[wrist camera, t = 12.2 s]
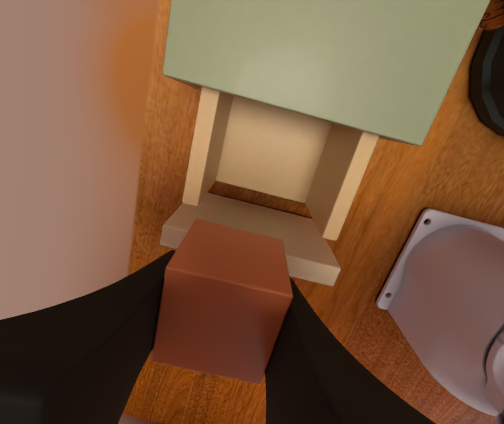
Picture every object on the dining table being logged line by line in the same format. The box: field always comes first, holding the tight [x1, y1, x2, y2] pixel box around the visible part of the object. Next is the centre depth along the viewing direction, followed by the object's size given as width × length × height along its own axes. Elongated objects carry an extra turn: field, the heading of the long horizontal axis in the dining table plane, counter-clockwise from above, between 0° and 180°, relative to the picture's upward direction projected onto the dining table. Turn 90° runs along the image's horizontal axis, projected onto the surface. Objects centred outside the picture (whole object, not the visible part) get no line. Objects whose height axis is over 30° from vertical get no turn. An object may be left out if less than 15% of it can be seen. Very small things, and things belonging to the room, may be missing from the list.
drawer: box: [160, 87, 379, 287], centre depth 16 cm, size 18×9×7 cm, turn 166°
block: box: [151, 219, 293, 384], centre depth 11 cm, size 4×4×4 cm
